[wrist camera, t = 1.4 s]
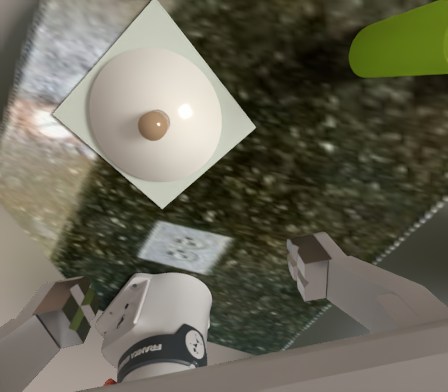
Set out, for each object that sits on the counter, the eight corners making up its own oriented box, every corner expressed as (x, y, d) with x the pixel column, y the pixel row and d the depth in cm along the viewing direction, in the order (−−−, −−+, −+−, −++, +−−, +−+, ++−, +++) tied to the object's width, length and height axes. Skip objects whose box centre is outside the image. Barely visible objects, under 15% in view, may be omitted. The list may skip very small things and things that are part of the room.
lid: (162, 200, 35) (156, 217, 31) (64, 115, 29) (40, 120, 25) (245, 126, 32) (253, 133, 27) (155, 13, 26) (145, -2, 22)
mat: (162, 207, 36) (162, 208, 36) (55, 113, 30) (52, 114, 29) (255, 126, 33) (256, 127, 32) (155, -2, 26) (154, -3, 25)
